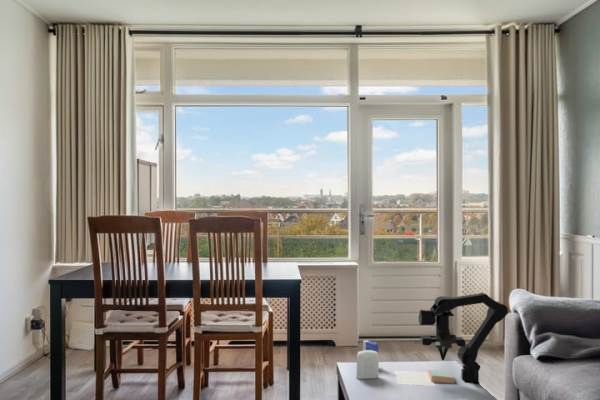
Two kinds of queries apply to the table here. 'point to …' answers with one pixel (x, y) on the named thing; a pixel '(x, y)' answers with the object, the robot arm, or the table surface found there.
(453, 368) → the table surface
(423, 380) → the mat
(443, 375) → the tile
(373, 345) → the walkman
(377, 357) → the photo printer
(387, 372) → the table surface
